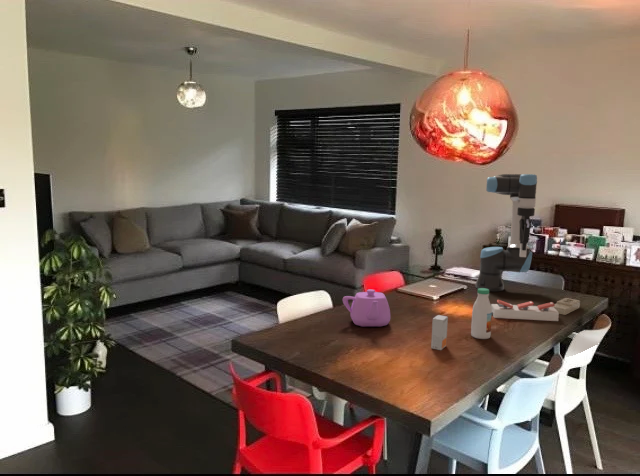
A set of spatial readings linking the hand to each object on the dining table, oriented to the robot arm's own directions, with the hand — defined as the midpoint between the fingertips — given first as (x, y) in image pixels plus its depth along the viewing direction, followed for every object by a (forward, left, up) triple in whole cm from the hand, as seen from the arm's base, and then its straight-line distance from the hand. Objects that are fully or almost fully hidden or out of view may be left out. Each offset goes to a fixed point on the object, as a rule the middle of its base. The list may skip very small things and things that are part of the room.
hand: (522, 256), depth 251 cm
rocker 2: (+12, 0, -20) cm, 23 cm away
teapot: (+33, -70, -27) cm, 82 cm away
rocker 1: (+12, -9, -20) cm, 25 cm away
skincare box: (+58, -42, -27) cm, 76 cm away
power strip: (+10, -4, -26) cm, 28 cm away
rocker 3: (+12, +9, -20) cm, 25 cm away
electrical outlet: (-6, +23, -27) cm, 36 cm away
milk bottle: (+42, -24, -27) cm, 55 cm away
